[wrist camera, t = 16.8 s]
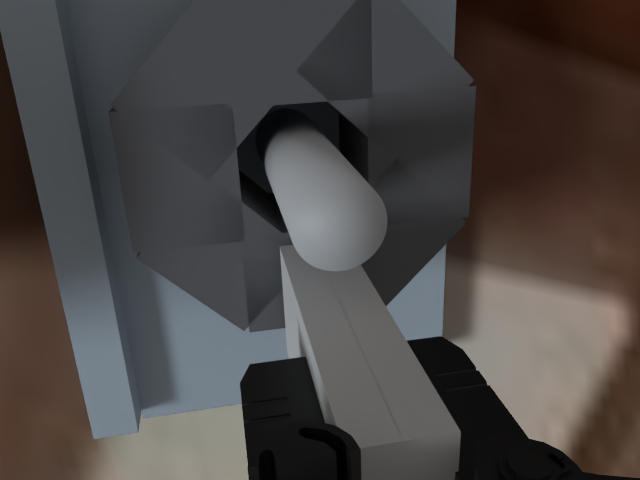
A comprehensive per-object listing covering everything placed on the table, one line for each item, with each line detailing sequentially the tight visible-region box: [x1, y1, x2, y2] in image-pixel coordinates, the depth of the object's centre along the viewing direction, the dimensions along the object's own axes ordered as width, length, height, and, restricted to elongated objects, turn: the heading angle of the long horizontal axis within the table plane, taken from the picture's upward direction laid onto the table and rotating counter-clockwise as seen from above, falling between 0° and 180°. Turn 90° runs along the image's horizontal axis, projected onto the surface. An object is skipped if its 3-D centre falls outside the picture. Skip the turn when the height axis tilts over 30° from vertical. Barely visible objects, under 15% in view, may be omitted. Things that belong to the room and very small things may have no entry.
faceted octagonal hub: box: [108, 0, 476, 332], centre depth 14 cm, size 8×8×3 cm
